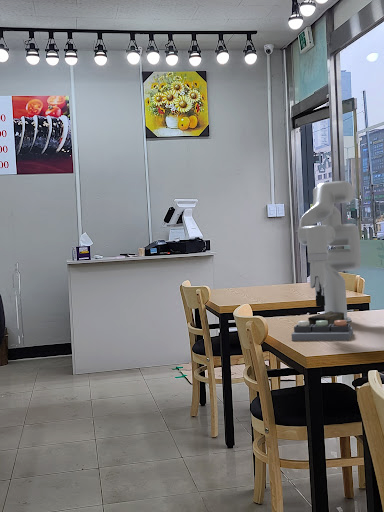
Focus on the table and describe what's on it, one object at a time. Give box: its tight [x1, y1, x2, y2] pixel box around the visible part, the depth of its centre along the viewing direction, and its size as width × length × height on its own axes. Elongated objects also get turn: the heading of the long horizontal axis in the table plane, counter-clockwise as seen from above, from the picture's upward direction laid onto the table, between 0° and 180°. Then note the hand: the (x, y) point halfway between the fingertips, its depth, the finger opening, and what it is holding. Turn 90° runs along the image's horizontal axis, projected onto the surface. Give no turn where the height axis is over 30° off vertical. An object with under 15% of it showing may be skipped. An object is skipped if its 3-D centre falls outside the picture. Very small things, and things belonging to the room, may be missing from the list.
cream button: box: [297, 320, 310, 327], centre depth 244 cm, size 4×4×2 cm
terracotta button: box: [335, 320, 348, 326], centre depth 239 cm, size 4×4×2 cm
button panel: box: [291, 323, 354, 342], centre depth 241 cm, size 14×21×4 cm, turn 70°
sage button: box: [316, 320, 328, 327], centre depth 241 cm, size 4×4×2 cm
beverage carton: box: [307, 311, 344, 325], centre depth 259 cm, size 8×19×7 cm, turn 143°
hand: (320, 306), depth 241 cm, fingers closed
